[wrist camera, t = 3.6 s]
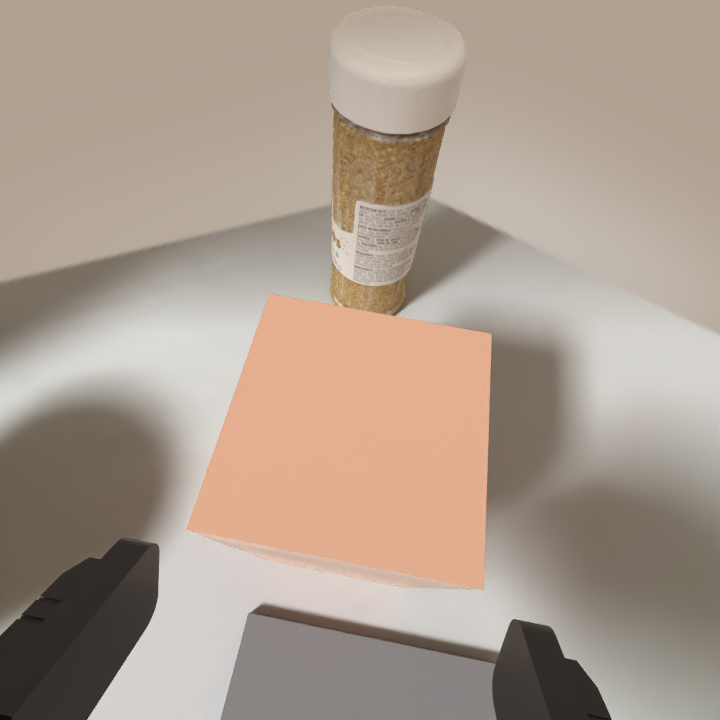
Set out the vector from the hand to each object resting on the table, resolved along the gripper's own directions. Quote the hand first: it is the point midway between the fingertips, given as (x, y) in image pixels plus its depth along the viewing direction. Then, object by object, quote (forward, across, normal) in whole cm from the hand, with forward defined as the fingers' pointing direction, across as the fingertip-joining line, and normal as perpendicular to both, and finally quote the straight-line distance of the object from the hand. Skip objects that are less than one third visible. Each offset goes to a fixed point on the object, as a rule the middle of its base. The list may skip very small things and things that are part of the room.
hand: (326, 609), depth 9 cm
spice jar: (+18, +1, -5) cm, 19 cm away
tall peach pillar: (+9, 0, +4) cm, 10 cm away
